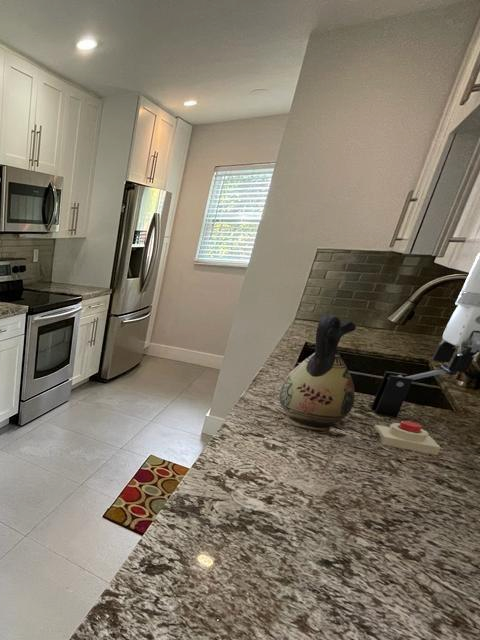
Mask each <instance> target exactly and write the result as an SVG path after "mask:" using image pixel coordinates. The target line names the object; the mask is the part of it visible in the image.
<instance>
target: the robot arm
mask: <svg viewBox="0 0 480 640" xmlns="http://www.w3.org/2000/svg"><path fill="white" fill-rule="evenodd" d="M454 304H455V306H457V307H456V308H455V310H454V311H453V313H452V315H451V316H450V319H449V321H448V322H447V324H446V327H445V329H444V330H443V334H442V336H441V340H440V342H439V343H438V346H437V349H436V351H435V352H434V355H433V357H432V360H433V362H434V361H435V362H440V363H442V362H443V363H450V364H449V365H448V366H449V368H448V370H450V371H457V373H467V372H468V370H469V369H470V367H471V364H472V362H473V360H474V359H475V358H476V357H477V354H478V353H480V252H479V253H478V254H477V256H476V257H475V260H474V262H473V264H472V267H471V269H470V271H469V273H468V275H467V277H466V279H465V282H464V284H463V286H462V288H461V291H460V292H459V295H458V297H457V299H456V301H455V303H454ZM456 347H457V348H456ZM456 350H457V352H456ZM455 352H456V353H457V354H455Z"/></svg>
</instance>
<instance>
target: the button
mask: <svg viewBox="0 0 480 640" xmlns="http://www.w3.org/2000/svg"><path fill="white" fill-rule="evenodd" d="M422 427H423V426H422V425H421V424H420V423H416V422H414V421H411V420H410V421H409V420H401V421H400V426H399V428H400V429H402V430H405V431H408V432H413V433H419V432H420V430H421V429H422Z"/></svg>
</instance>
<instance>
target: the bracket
mask: <svg viewBox="0 0 480 640" xmlns="http://www.w3.org/2000/svg"><path fill="white" fill-rule="evenodd" d="M397 375H401V376H403V377H399V376H397ZM407 376H409V375H408V373H401V372H395V371H394V372H393V371H384V374H383V377H382V379H381V381H380V383H379V387H378V389H377V391H376V394H375V396H374V399H373V401H372V404H371V406H370V409H372V410H375V411H374V414H375V415H380V416H386V417H391V418H397V417H398V415H399V413H400V410H401V408H402V406H403V403H404V402H405V399H406V397H407V394H408V392H409V390H410V388H411V385H412V383H413V381H414V380H413V379H412V378H406V377H407ZM388 377H389V379H387V378H388Z"/></svg>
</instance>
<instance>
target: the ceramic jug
mask: <svg viewBox="0 0 480 640" xmlns="http://www.w3.org/2000/svg"><path fill="white" fill-rule="evenodd" d="M356 328H357V326H356V325H355V323H354V322H352V321H350V320H346V321H343V322H341V319H340V318H339V317H338V316H334V315H326V316H322V317H321V318H320V320H319V321H318V323H317V327H316V330H315V332H316V333H315V347H314V348H315V350H314V353H312V354H311V355H309V356H308V357H306V358H305V359H304V360H302V361H301V362H300V363H299V364H298V365H296V366H295V367H294V368H293V369H292V370H291V371H290V372H289V374H287V376H286V377H285V379H284V380H283V382H282V384H281V386H280V388H279V393H278V400H279V404H280V407H282V409H283V411H284V412H285V414H286V418H287V421H288V423H290V424H292V425H293V426H295V427H300V428H304V429H309V430H314V431H319V432H324V431H329V430H331V426H333V425H335V424H336V423H339V422H340V421H342V420H343V419H344V418H345V417H347V416H348V414H350V412H351V411H352V409H353V407H354V403H355V395H356V393H355V384H354V380H353V378H352V375H351V373H350V371H349V368H348V367H347V365H346V363H345V361H344V359H343V358H342V356H341V355H340V351H339V350H338V345H339V343H340V340H341V338H342V337H343V336H345V335H347V334H349V333H351V332H354V331H355V330H356ZM293 432H294V431H292V433H293Z"/></svg>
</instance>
